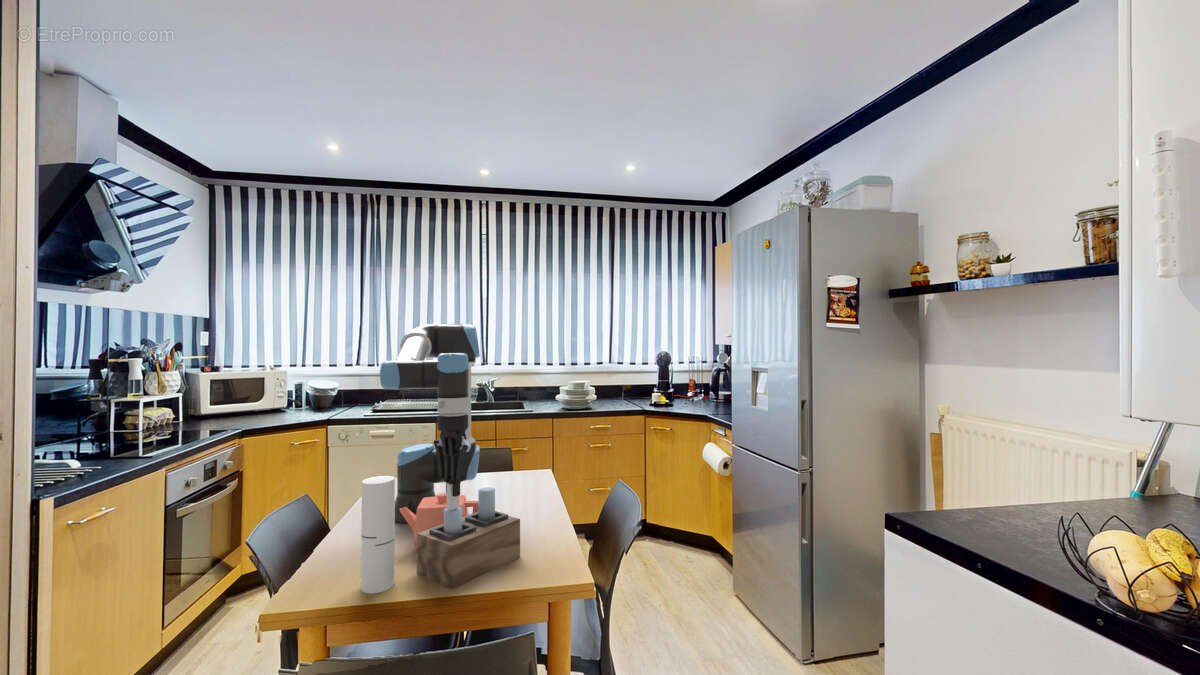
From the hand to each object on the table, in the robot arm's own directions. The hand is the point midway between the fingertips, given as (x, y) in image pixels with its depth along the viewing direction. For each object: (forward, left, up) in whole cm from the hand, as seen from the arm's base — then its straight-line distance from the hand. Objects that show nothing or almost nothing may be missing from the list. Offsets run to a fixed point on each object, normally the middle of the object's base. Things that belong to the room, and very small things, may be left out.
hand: (452, 508), depth 122 cm
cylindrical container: (-9, -14, -16) cm, 24 cm away
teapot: (-18, +10, -16) cm, 26 cm away
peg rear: (0, +11, -7) cm, 13 cm away
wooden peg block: (0, +6, -16) cm, 17 cm away
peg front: (0, 0, -9) cm, 9 cm away
